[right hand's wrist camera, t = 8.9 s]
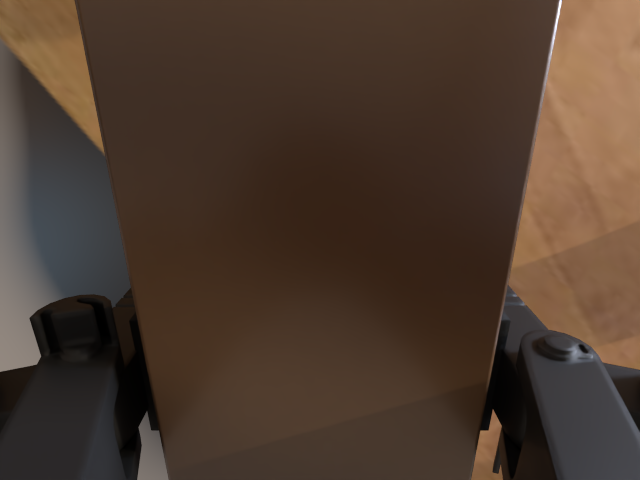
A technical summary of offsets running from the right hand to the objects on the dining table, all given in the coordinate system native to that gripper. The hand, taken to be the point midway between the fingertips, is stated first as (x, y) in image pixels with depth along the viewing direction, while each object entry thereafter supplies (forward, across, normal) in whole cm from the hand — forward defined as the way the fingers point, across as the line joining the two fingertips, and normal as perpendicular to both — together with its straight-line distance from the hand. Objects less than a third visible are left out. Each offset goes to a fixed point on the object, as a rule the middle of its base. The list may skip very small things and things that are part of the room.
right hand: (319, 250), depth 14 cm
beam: (+1, 0, -27) cm, 27 cm away
